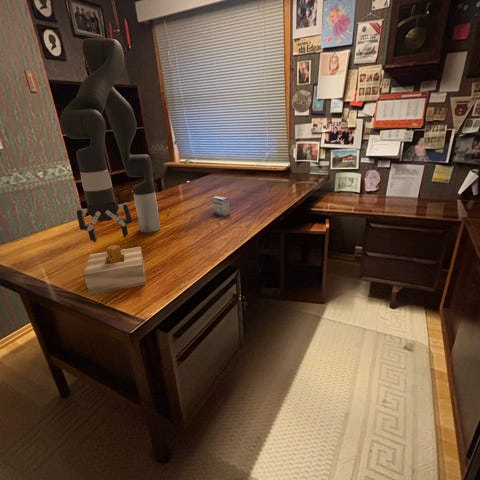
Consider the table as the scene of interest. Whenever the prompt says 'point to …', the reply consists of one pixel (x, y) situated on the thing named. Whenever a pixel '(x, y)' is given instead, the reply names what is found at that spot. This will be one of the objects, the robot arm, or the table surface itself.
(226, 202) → the medicine box
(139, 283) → the bore block
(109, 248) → the supplement box
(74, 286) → the table surface
